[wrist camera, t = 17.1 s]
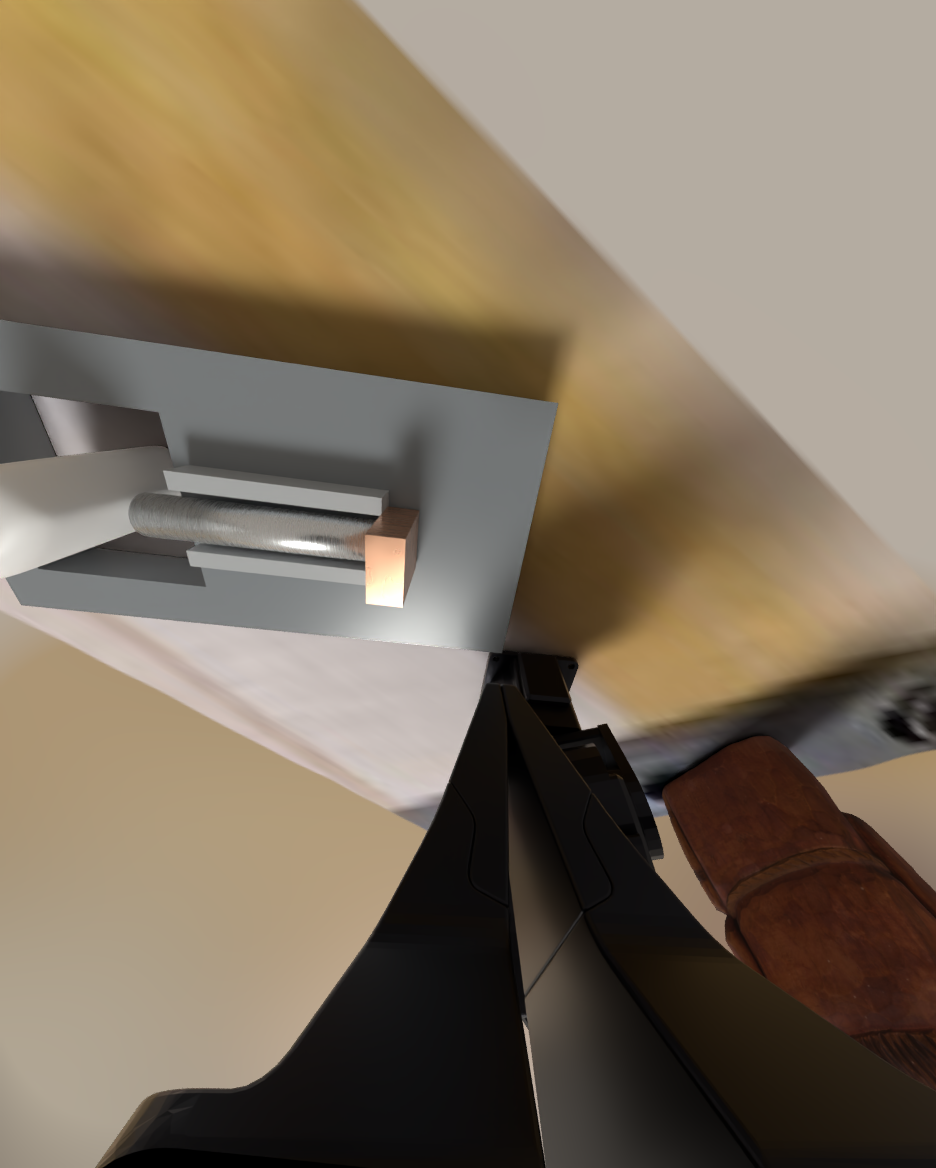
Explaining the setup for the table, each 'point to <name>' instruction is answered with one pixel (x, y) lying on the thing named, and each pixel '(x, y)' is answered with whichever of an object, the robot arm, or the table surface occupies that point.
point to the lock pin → (292, 535)
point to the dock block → (294, 486)
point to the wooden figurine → (813, 898)
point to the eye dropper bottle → (72, 502)
